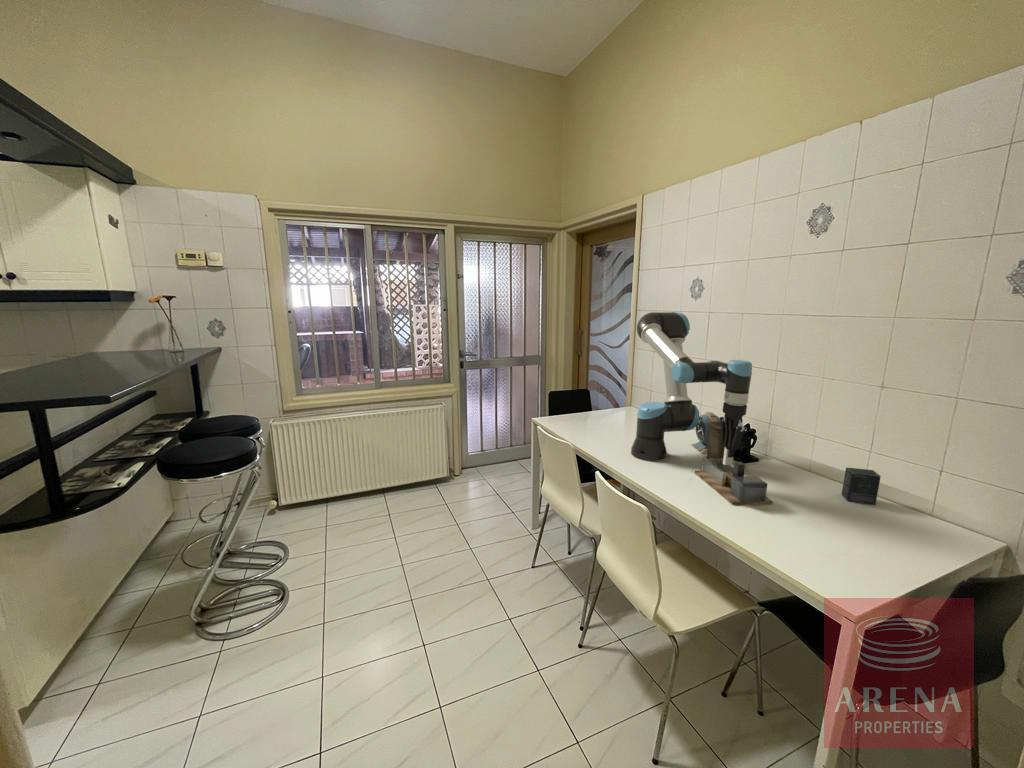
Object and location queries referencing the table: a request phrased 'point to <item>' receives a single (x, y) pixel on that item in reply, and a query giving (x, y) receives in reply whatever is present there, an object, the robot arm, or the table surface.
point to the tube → (735, 472)
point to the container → (715, 442)
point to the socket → (748, 488)
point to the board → (726, 490)
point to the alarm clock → (704, 431)
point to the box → (860, 485)
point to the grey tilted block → (717, 469)
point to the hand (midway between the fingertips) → (727, 464)
